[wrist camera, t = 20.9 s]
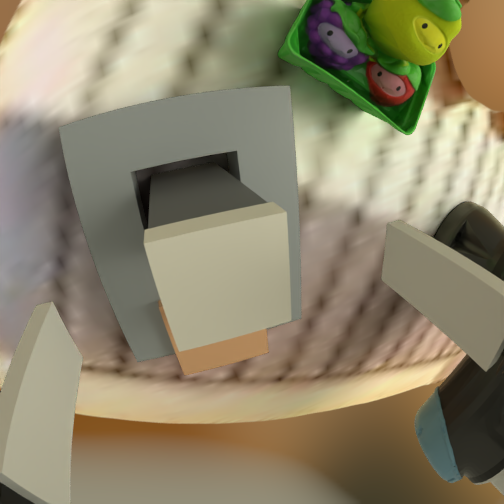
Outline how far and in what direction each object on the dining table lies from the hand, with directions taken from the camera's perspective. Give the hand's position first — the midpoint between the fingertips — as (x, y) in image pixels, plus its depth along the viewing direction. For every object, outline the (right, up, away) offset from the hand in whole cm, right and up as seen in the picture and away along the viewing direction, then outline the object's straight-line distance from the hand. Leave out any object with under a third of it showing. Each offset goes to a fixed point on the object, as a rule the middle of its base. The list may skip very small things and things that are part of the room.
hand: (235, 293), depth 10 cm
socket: (-4, +3, +11) cm, 12 cm away
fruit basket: (+7, +17, +9) cm, 20 cm away
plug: (-4, +5, +10) cm, 12 cm away
